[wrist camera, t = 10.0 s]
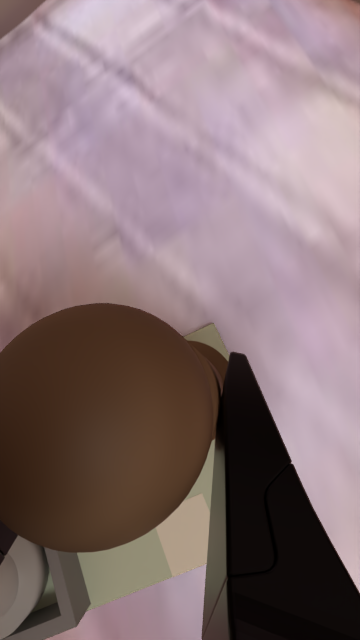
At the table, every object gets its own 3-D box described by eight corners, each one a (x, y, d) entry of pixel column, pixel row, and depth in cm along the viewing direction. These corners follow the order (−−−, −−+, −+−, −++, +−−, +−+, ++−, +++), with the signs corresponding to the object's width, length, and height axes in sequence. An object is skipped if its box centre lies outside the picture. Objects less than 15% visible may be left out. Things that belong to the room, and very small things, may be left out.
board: (306, 516, 18) (318, 538, 16) (-11, 643, 20) (-45, 680, 18) (214, 324, 22) (212, 317, 19) (-48, 446, 24) (-81, 454, 21)
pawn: (254, 415, 14) (391, 616, 2) (168, 453, 14) (-138, 815, 2) (213, 330, 15) (151, 151, 3) (134, 367, 15) (-177, 324, 4)
